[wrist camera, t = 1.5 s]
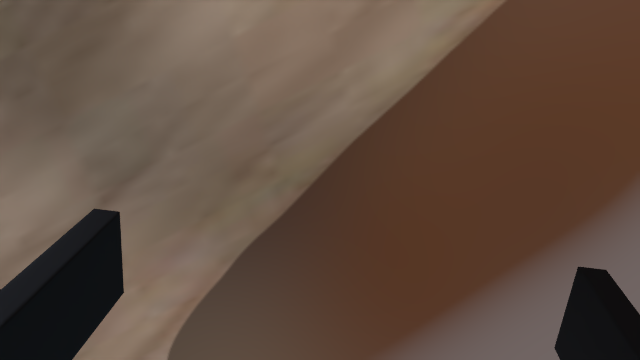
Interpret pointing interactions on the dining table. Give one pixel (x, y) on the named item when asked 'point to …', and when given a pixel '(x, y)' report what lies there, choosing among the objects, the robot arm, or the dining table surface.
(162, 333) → the dining table surface
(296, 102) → the dining table surface
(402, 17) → the dining table surface
